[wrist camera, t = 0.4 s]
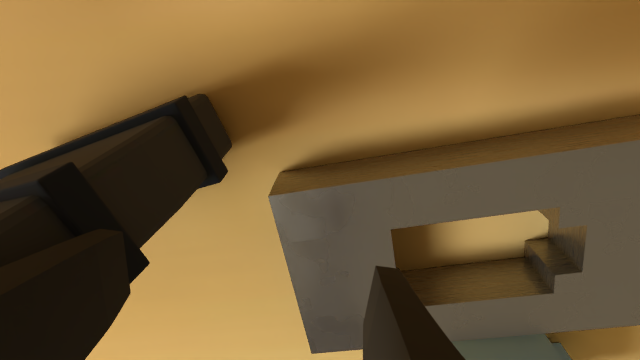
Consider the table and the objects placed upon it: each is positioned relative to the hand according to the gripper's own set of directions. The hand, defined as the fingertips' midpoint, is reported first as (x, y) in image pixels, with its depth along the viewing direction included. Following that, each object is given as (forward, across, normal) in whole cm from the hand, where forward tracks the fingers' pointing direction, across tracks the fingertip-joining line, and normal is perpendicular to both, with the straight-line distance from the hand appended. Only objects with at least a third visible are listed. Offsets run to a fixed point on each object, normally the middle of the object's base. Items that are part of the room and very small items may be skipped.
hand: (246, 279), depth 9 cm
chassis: (+10, -9, +3) cm, 14 cm away
